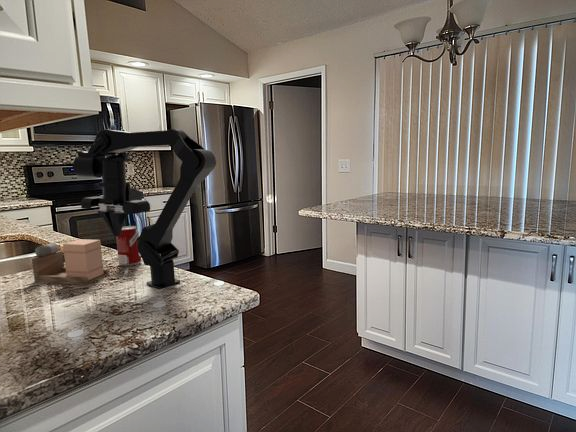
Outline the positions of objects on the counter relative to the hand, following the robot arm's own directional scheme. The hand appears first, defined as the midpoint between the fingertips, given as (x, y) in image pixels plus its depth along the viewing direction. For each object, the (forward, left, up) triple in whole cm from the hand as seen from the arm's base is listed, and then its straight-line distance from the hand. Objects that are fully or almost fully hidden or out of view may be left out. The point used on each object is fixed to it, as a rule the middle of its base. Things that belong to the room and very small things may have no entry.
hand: (117, 236), depth 102 cm
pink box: (+10, +5, -12) cm, 17 cm away
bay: (+15, +7, -13) cm, 21 cm away
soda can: (+14, -10, -13) cm, 22 cm away
